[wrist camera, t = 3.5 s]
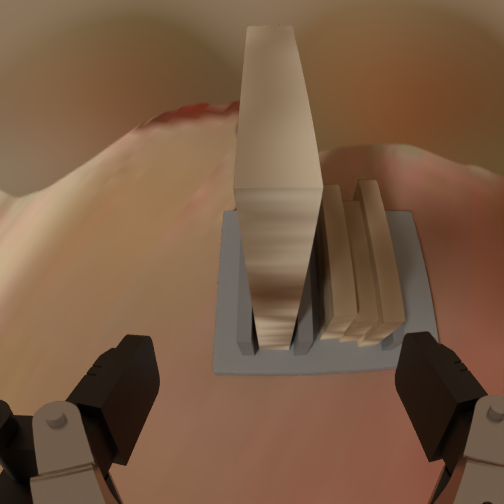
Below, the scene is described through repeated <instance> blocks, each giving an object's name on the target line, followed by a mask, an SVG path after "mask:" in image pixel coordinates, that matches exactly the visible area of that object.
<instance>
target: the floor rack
mask: <svg viewBox="0 0 504 504" xmlns="http://www.w3.org/2000/svg"><path fill="white" fill-rule="evenodd" d="M385 214H386V218H387V223H388V227H389V231H390V236H391V241H392V245H393V250H394V255H395V260H396V265H397V271H398V276H399V282H400V288H401V294H402V300H403V307H404V314H405V322H404V323H403V324H402V325H400V326H399V327H398V328H397V329H396V330H394V331H393V332H392V333H391V334H389V335H388V336H387V337H386V338H384V339H383V340H382V341H381V342H379V343H378V344H377V345H376V346H363V347H358V343H357V341H352V342H339V339H321V340H320V322H319V303H318V288H317V273H316V260H315V247H314V240H313V245H312V249H311V254H310V259H309V264H308V269H307V273H306V278H305V283H304V287H303V292H302V296H301V300H300V305H299V309H298V314H297V318H296V322H295V326H294V331H293V335H292V339H291V343H290V347H289V350H260V349H259V343H258V337H257V331H256V325H255V319H254V313H253V307H252V301H251V295H250V289H249V283H248V277H247V271H246V265H245V258H244V252H243V246H242V240H241V234H240V227H239V221H238V215H237V211H224V213H223V225H222V237H221V249H220V263H219V276H218V291H217V306H216V321H215V338H214V356H213V373H214V374H216V375H245V376H289V375H321V374H340V373H354V372H367V371H378V370H388V369H396V368H397V364H398V360H399V356H400V351H401V346H402V342H403V338H404V336H405V334H406V333H413V332H423V331H428V332H430V333H431V335H432V336H433V337H434V338H435V340H436V341H437V342H438V343H439V341H438V334H437V327H436V321H435V314H434V309H433V303H432V297H431V292H430V287H429V282H428V277H427V272H426V268H425V263H424V259H423V255H422V250H421V246H420V242H419V238H418V235H417V231H416V227H415V223H414V220H413V216H412V213H411V211H385Z"/></svg>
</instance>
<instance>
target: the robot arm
mask: <svg viewBox="0 0 504 504" xmlns="http://www.w3.org/2000/svg"><path fill="white" fill-rule="evenodd" d="M467 369H468V368H467V367H466V366H465V365H464V363H461V360H460V358H459V357H458V356H457V355H456V354H455V352H454V351H452V350H451V349H449V348H447V347H446V346H444V345H443V344H440V345H439V343H438V342H437V341H436V340H435V338H434V337H433V336H432V335H431V333H430V332H428V331H423V332H413V333H406V334H405V336H404V338H403V342H402V346H401V351H400V356H399V360H398V364H397V368H396V373H395V386H396V390H397V392H398V394H399V396H400V399H401V401H402V403H403V405H404V407H405V409H406V411H407V414H408V416H409V418H410V420H411V422H412V424H413V427H414V429H415V431H416V433H417V436H418V438H419V440H420V442H421V445H422V447H423V449H424V452H425V454H426V456H427V459H428V461H429V462H432V461H436V460H440V459H443V460H444V462H445V465H444V466H443V468H442V470H441V473H440V475H439V478H438V480H437V483H436V485H435V488H434V490H433V492H432V495H431V497H430V499H429V501H428V504H504V397H503V396H499V395H488V394H487V393H486V391H485V390H484V389H483V387H482V386H481V385H480V384H479V382H478V381H477V380H476V378H475V377H474V376H473V375H472V373H471V372H470V371H468V370H467ZM159 386H160V377H159V371H158V367H157V362H156V357H155V352H154V347H153V342H152V339H151V337H150V336H143V335H129V334H128V335H126V336H125V337H124V338H123V339H122V341H121V342H120V343H119V345H118V346H117V347H116V348H111V349H109V350H108V351H106V352H105V353H103V354H102V355H100V356H99V358H98V359H97V360H96V361H95V363H94V364H93V367H91V368H90V369H89V370H88V372H87V375H85V376H84V377H83V378H82V379H81V381H80V382H79V383H78V385H77V386H76V387H75V389H74V390H73V391H72V393H71V394H70V395H69V397H68V398H67V399H66V401H55V402H51V403H48V404H45V405H44V406H42V407H41V408H39V409H38V410H37V411H36V413H35V414H34V416H22V415H13V413H12V411H11V409H10V407H9V405H8V404H7V403H6V402H5V401H3V400H0V465H1V466H2V467H3V471H2V472H1V474H0V504H123V501H122V499H121V497H120V495H119V492H118V490H117V488H116V486H115V483H114V481H113V478H112V476H111V474H110V472H109V469H110V467H111V465H112V463H116V464H120V465H125V466H126V465H127V463H128V460H129V458H130V456H131V453H132V451H133V449H134V446H135V444H136V442H137V440H138V437H139V435H140V433H141V430H142V428H143V426H144V423H145V421H146V419H147V417H148V414H149V412H150V410H151V408H152V405H153V403H154V401H155V399H156V396H157V394H158V391H159Z"/></svg>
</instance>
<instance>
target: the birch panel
mask: <svg viewBox="0 0 504 504" xmlns="http://www.w3.org/2000/svg"><path fill="white" fill-rule="evenodd" d="M233 190H234V196H235V202H236V209H237V215H238V221H239V227H240V234H241V240H242V246H243V252H244V258H245V265H246V271H247V277H248V283H249V289H250V295H251V301H252V307H253V313H254V319H255V325H256V331H257V337H258V343H259V349H260V350H289V347H290V343H291V339H292V335H293V331H294V326H295V322H296V318H297V314H298V309H299V305H300V300H301V296H302V292H303V287H304V283H305V278H306V273H307V269H308V264H309V259H310V254H311V249H312V245H313V240H314V235H315V229H316V224H317V219H318V214H319V209H320V203H321V198H322V192H323V182H322V175H321V169H320V163H319V156H318V150H317V145H316V139H315V133H314V127H313V122H312V116H311V111H310V106H309V101H308V96H307V91H306V86H305V81H304V76H303V72H302V67H301V62H300V58H299V54H298V49H297V45H296V41H295V37H294V32H293V29H292V26H248V27H247V35H246V46H245V55H244V66H243V77H242V88H241V99H240V110H239V122H238V134H237V146H236V159H235V172H234V186H233Z"/></svg>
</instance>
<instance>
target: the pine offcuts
mask: <svg viewBox="0 0 504 504" xmlns="http://www.w3.org/2000/svg"><path fill="white" fill-rule="evenodd" d="M314 247H315V260H316V273H317V288H318V303H319V322H320V340H321V339H339V342H352V341H357V343H358V347H363V346H376V345H377V344H378V343H379V342H381V341H382V340H383V339H384V338H386V337H387V336H388V335H389V334H391V333H392V332H393V331H394V330H396V329H397V328H398V327H399V326H400V325H402V324H403V323H404V322H405V314H404V307H403V300H402V294H401V288H400V282H399V276H398V271H397V265H396V260H395V255H394V250H393V245H392V241H391V236H390V231H389V227H388V223H387V218H386V214H385V210H384V206H383V202H382V198H381V194H380V190H379V187H378V183H377V180H364V179H359V180H358V183H357V187H356V190H355V193H354V197H353V200H352V201H342V196H341V191H340V185H333V184H323V192H322V198H321V203H320V209H319V214H318V219H317V224H316V229H315V235H314Z"/></svg>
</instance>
